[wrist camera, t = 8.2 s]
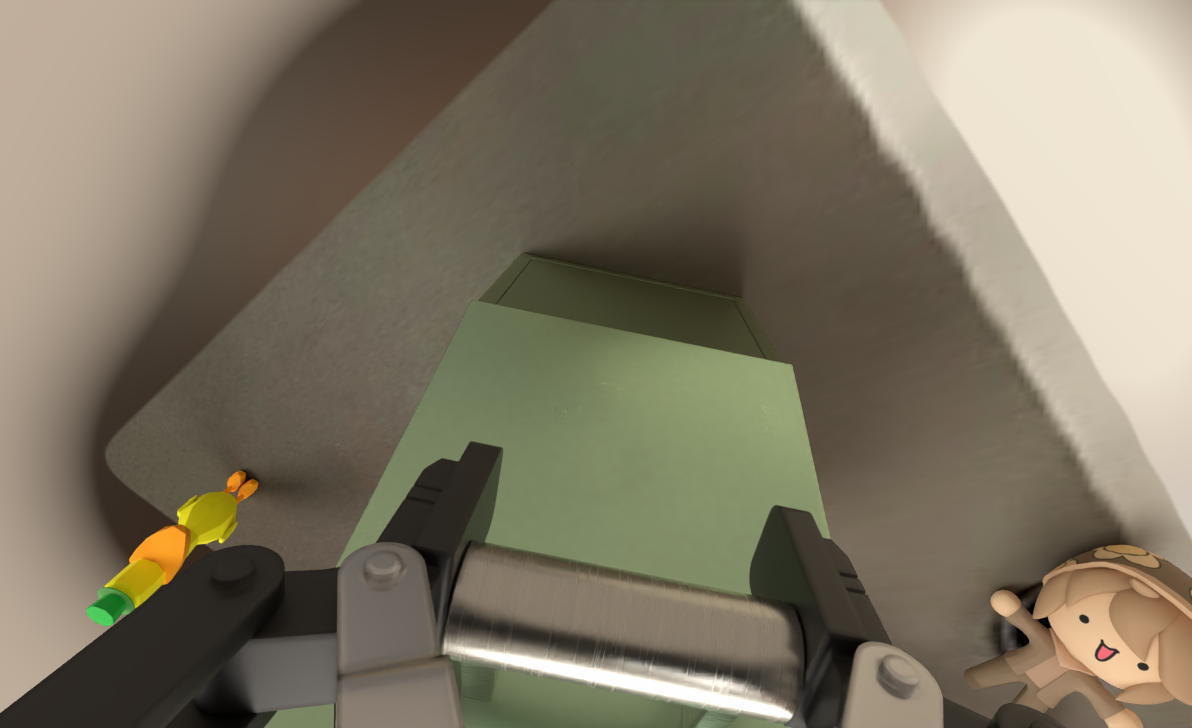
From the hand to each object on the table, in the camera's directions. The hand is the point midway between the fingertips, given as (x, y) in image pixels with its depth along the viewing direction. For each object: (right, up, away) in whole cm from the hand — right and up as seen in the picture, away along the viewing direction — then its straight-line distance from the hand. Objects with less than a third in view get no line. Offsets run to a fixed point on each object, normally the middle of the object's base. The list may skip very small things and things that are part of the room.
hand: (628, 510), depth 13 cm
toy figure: (-27, -5, +30) cm, 40 cm away
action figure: (+32, -14, +29) cm, 45 cm away
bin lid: (0, -1, +5) cm, 5 cm away
